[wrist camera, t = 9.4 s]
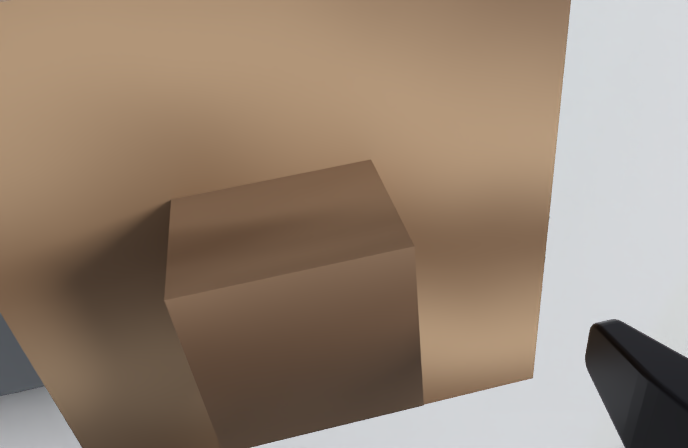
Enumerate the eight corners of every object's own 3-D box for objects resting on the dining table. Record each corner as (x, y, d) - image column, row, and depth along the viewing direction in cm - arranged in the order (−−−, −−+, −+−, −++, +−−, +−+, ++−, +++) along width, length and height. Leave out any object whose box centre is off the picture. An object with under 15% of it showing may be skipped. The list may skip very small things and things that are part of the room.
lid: (520, 357, 18) (588, 471, 15) (107, 456, 17) (86, 603, 14) (557, -99, 11) (700, -65, 8) (-147, 16, 10) (-307, 110, 7)
